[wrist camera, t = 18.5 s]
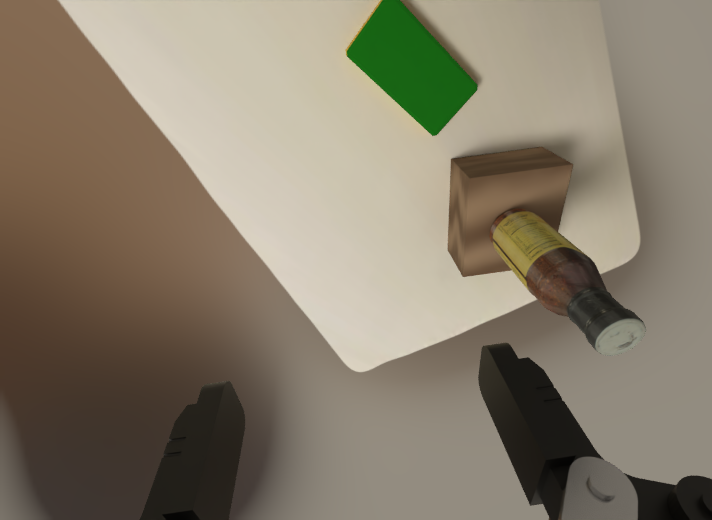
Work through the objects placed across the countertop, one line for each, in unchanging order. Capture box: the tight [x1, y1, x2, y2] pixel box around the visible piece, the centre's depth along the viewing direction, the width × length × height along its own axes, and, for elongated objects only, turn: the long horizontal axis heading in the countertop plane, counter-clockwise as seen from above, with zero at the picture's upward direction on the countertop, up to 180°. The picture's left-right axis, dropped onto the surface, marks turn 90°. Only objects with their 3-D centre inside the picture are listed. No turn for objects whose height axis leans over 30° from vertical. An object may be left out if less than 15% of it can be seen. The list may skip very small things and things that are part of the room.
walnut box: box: [448, 147, 573, 277], centre depth 49 cm, size 15×12×7 cm
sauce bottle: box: [489, 209, 646, 356], centre depth 38 cm, size 7×6×20 cm
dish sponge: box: [346, 0, 478, 136], centre depth 41 cm, size 7×14×2 cm, turn 50°
